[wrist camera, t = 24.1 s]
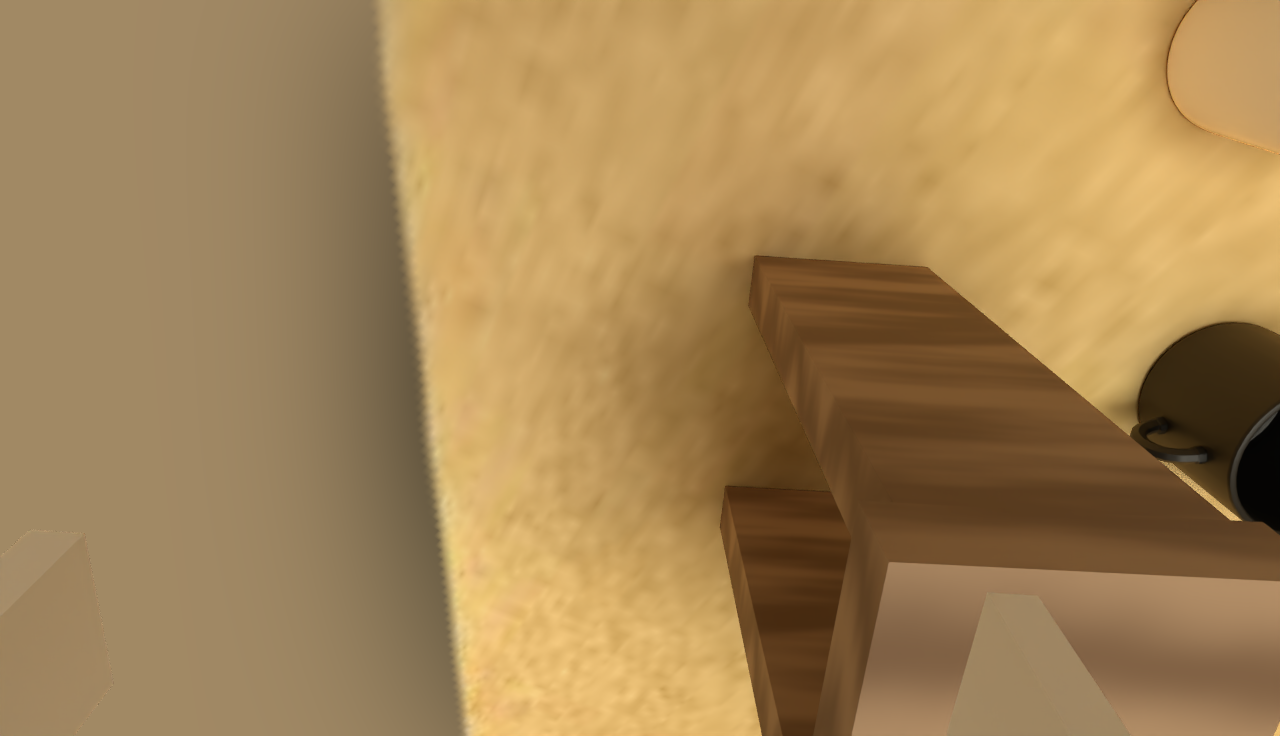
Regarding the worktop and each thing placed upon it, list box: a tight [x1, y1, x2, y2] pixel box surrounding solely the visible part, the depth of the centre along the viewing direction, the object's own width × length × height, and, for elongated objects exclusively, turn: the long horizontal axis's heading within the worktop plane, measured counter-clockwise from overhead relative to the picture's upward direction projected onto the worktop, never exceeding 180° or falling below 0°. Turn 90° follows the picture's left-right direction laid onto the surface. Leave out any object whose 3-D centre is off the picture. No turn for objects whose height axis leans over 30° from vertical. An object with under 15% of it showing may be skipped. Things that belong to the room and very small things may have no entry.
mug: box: [1130, 323, 1280, 535], centre depth 50 cm, size 9×12×9 cm
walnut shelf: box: [720, 256, 1280, 736], centre depth 40 cm, size 18×12×30 cm, turn 176°
